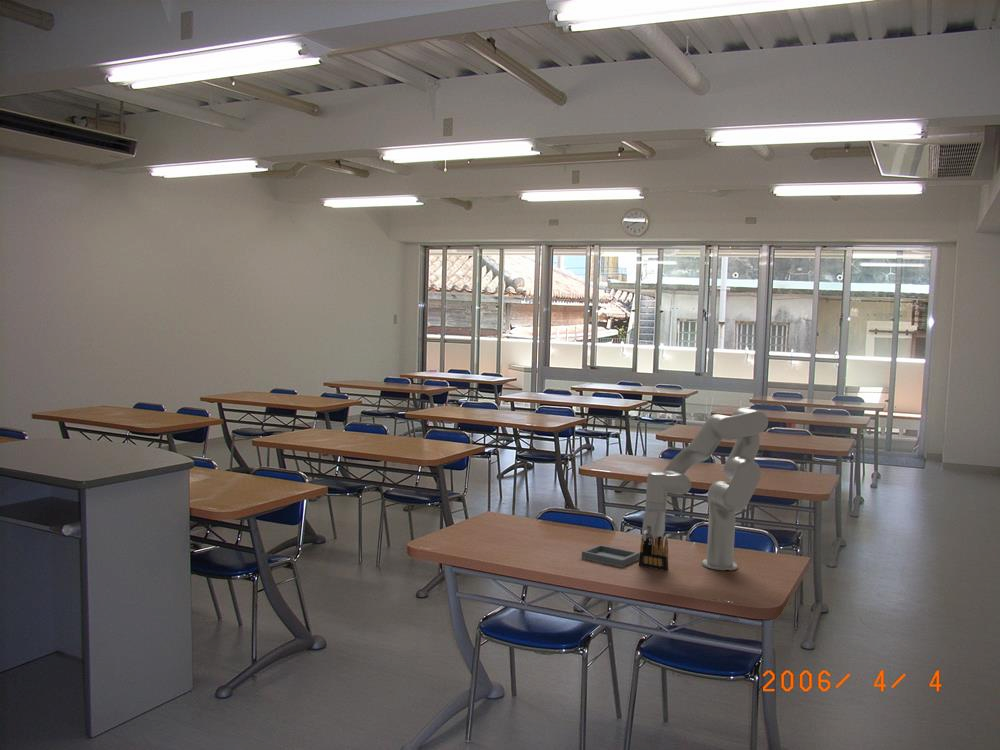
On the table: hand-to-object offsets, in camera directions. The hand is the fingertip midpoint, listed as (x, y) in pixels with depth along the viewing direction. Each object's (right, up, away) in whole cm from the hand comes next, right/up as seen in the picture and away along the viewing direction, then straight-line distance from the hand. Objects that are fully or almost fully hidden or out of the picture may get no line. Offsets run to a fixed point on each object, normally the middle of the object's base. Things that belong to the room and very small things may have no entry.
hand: (652, 552), depth 287 cm
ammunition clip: (0, -6, 0) cm, 6 cm away
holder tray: (-14, -5, +9) cm, 18 cm away
